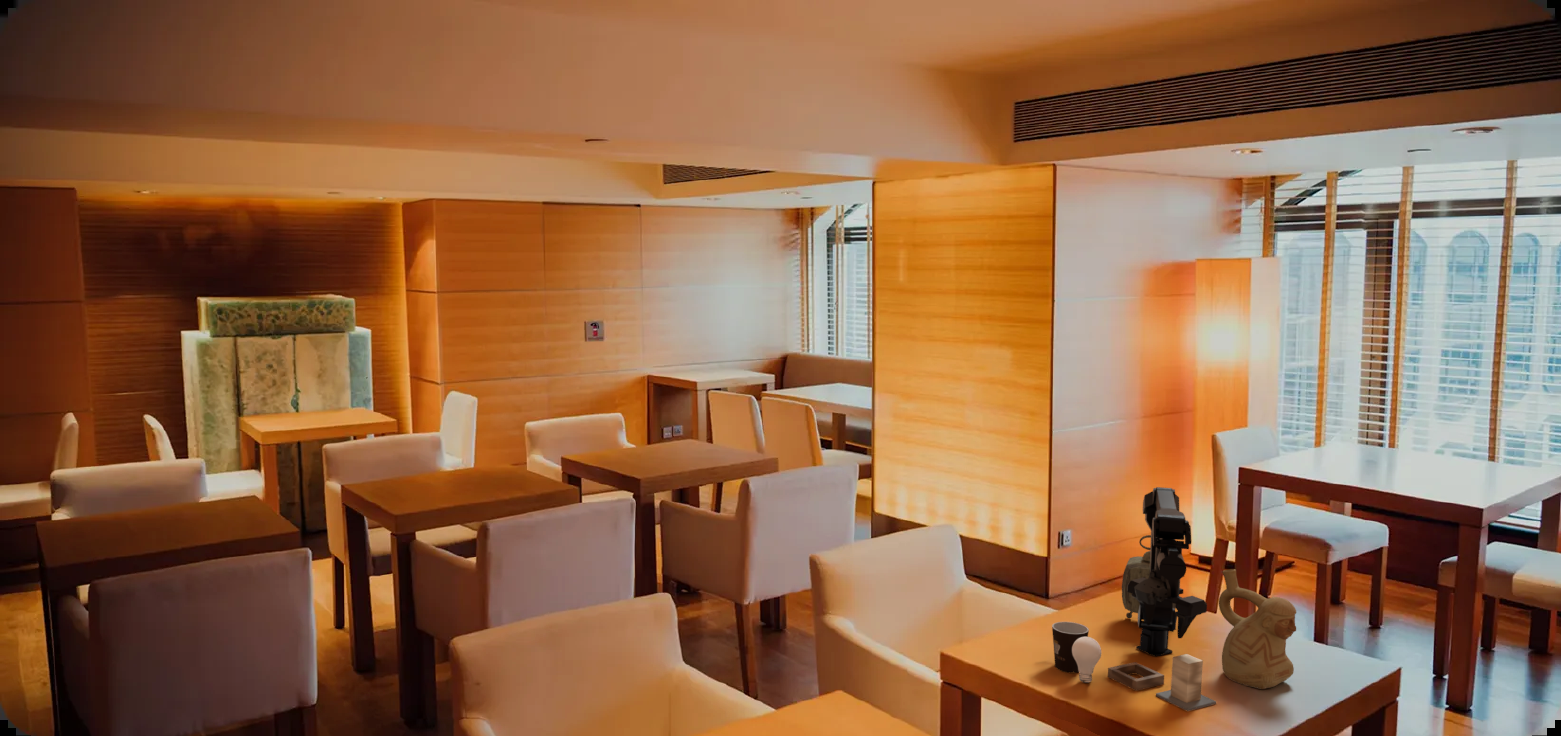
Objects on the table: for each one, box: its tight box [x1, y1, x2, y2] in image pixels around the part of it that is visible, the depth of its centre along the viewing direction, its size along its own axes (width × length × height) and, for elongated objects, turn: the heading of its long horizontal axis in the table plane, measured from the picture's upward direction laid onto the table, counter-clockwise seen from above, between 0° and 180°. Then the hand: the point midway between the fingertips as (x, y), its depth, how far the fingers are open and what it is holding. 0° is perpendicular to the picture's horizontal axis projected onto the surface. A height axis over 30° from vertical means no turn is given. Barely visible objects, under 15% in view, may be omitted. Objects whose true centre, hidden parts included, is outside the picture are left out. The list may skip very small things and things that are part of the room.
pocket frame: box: [1107, 661, 1165, 691], centre depth 242 cm, size 9×9×2 cm
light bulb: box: [1072, 636, 1102, 684], centre depth 239 cm, size 7×7×11 cm
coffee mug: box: [1051, 621, 1090, 674], centre depth 250 cm, size 12×9×10 cm
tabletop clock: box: [1121, 534, 1177, 619], centre depth 279 cm, size 14×9×25 cm, turn 66°
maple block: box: [1170, 653, 1204, 703], centre depth 231 cm, size 4×4×9 cm
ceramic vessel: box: [1218, 568, 1297, 690], centre depth 243 cm, size 17×20×25 cm
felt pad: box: [1155, 689, 1217, 712], centre depth 231 cm, size 9×9×1 cm
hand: (1164, 631), depth 240 cm, fingers open, 9 cm apart
